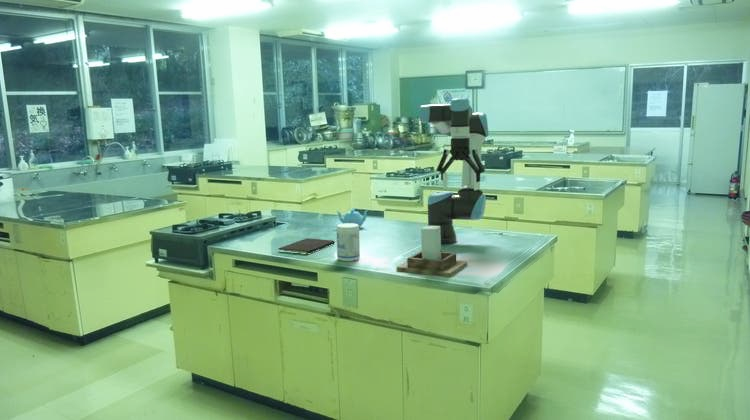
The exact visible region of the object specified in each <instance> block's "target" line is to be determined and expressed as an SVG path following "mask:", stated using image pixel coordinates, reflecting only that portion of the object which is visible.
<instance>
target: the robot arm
mask: <svg viewBox="0 0 750 420" xmlns="http://www.w3.org/2000/svg"><path fill="white" fill-rule="evenodd" d="M487 117H488V116H487V114H486V113H485V112H473V108H472V106H471V105H470V101H469V99H468V98H453V99H451V100H450V103H446V104H445V103H444V104H442V103H441V104H423V105H420V107H419V110H418V118H419V121H420V123H422V124H423V123H425V124H429V123H430V124H432V125H433V126H434V127H435V129H436V131H437V132H439V134H440V133H441V134H442V135H445V136H447V137H451V139H450V149H448V148H445V149H443V152H442V157H441V159H440V161H439V163H438V165H437V167H436V172H439V173H440V180H441V181H442V185H443V186H442V189H444V190H445V189H448V172H447V170H448V169H449V168H450V166H451V165H452V164H453V163H454V162H455V161H462V169H461V171H462V172H461V187H460V188H459V189H458V190H457V194H453V191H448V190H447V191H446V190H445V191H439V192H435V193H431V194H429V195H428V196H427V226H440V235H441V245H445V244H452V243H456V242H457V234H456V231H455V228H454V224H453V220H464V221H465V220H466V221H468V220H469V221H479V220H482V219H483V216H484V213H485V208H486V201H487V196H486V195H485V194H484V191H483V190H482V189H481V174H483V173H485V171H486V169H485V168H484V165H483V163H482V150H483V148H482V147H483V143H484V142H486V138H488V137H489V135H490V133H489V124H488V118H487ZM449 155H451V156H450V157H449V160H448V161H447V162H446V160H447V159H448V156H449Z"/></svg>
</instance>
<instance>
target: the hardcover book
mask: <svg viewBox="0 0 750 420" xmlns="http://www.w3.org/2000/svg"><path fill="white" fill-rule="evenodd" d="M334 243H336V241H335V240H331V239H320V238H311V237H310V238H303V239H301V240H298V241H296V242H292V243H290V244H287V245H284V246H281V247H279V248H277V249H278V251H279V250H284V251H291V252H298V253H306V254H308V253H311V252H313V251H316V250H318V249H321V248H324V247H326V246H329V245H331V244H334ZM334 245H335V244H334ZM331 246H332V245H331ZM329 247H330V246H329ZM326 248H327V247H326ZM324 249H325V248H324ZM321 250H322V249H321ZM316 252H317V251H316ZM311 254H312V253H311Z"/></svg>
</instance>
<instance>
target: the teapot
mask: <svg viewBox="0 0 750 420" xmlns="http://www.w3.org/2000/svg"><path fill="white" fill-rule="evenodd" d="M368 211H369V209H367V210H365V211H364V212H363V217H362V215H361V214H360V212H359V211H355V207H352V209H350V210H349V211H347V212H346V213H345V214H344V216H343V217H342V214H341V212H340V211H338V210H336V211H335V212H336V213H337V214H338V218H339V221H340V223H341V224H344V223H354V224H358V225H359V228H360V227H362V226H363V224H364V223H365V221H366V220H367V212H368Z"/></svg>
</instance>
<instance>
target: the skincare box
mask: <svg viewBox="0 0 750 420" xmlns="http://www.w3.org/2000/svg"><path fill="white" fill-rule="evenodd" d="M420 230H421V231H420V232H421V234H420V235H421V238H420V239H421V251H422V259H429V260H438V261H441V252H442V244H441V235H440V226H428V225H426V226H424V227H423V228H421V229H420Z"/></svg>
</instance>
